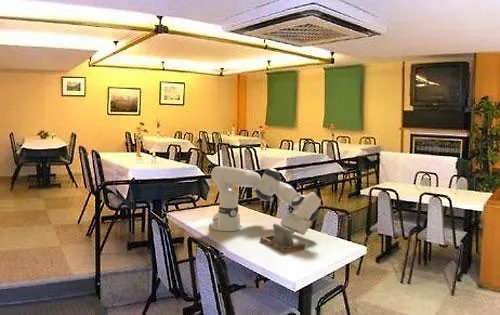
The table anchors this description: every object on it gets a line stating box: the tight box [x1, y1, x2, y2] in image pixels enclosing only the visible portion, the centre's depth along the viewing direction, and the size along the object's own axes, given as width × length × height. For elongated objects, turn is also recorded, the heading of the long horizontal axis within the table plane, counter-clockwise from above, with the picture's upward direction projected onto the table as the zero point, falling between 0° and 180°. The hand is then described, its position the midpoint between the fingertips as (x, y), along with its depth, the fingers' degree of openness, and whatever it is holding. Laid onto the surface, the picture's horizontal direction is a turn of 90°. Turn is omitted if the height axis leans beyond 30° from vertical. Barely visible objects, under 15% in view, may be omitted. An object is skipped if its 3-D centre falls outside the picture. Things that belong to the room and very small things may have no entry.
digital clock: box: [272, 223, 295, 247], centre depth 251 cm, size 16×9×11 cm, turn 16°
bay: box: [259, 234, 306, 254], centre depth 250 cm, size 24×13×2 cm, turn 31°
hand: (286, 235), depth 251 cm, fingers closed
